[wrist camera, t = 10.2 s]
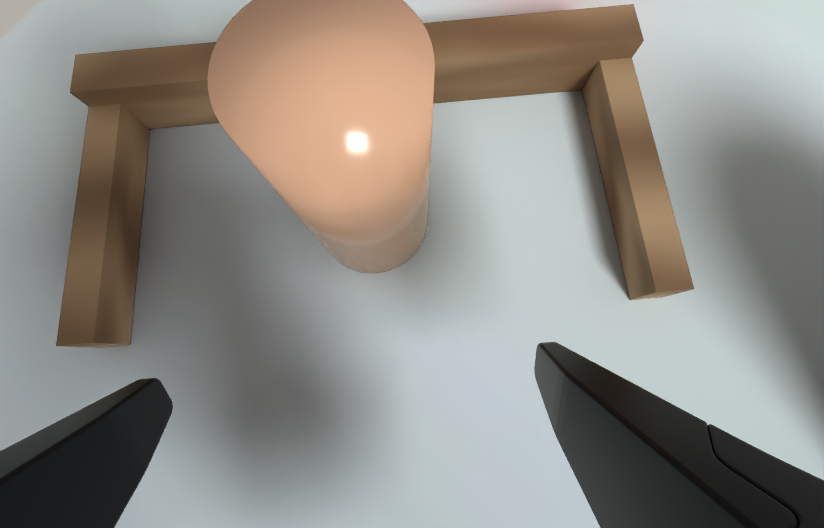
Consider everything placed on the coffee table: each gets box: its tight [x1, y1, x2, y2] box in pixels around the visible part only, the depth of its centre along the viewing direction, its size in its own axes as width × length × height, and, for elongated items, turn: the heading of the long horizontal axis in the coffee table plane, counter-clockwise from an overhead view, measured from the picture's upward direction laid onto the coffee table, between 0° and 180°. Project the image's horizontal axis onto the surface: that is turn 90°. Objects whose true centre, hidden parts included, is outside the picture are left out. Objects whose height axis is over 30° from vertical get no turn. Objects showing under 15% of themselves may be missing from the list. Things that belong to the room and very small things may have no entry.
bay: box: [56, 4, 694, 348], centre depth 17 cm, size 13×26×3 cm, turn 95°
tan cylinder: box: [208, 0, 435, 273], centre depth 14 cm, size 5×5×10 cm
